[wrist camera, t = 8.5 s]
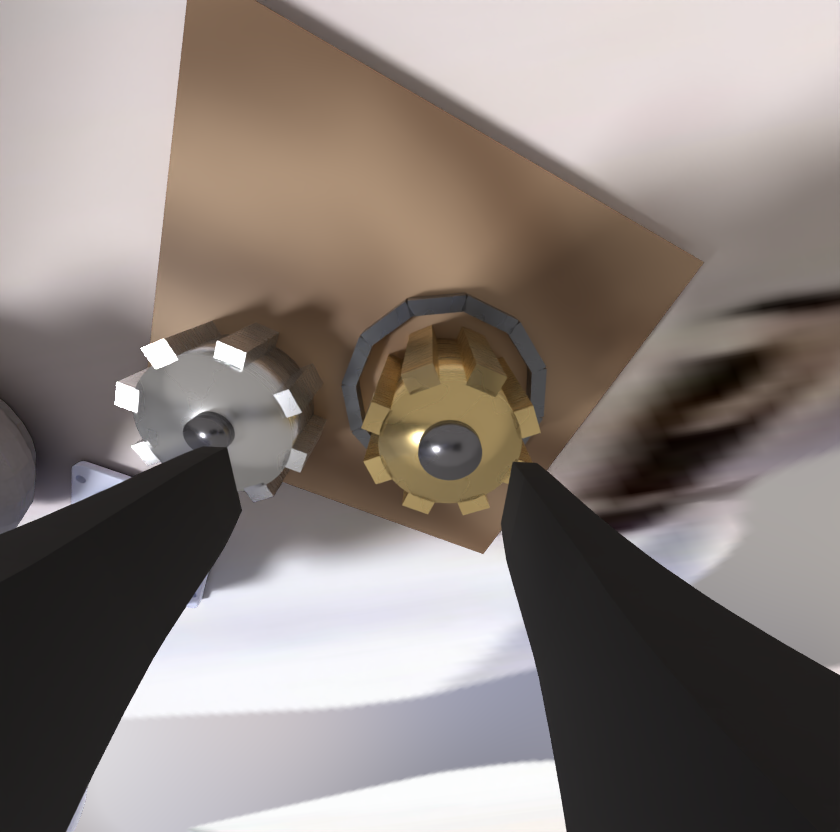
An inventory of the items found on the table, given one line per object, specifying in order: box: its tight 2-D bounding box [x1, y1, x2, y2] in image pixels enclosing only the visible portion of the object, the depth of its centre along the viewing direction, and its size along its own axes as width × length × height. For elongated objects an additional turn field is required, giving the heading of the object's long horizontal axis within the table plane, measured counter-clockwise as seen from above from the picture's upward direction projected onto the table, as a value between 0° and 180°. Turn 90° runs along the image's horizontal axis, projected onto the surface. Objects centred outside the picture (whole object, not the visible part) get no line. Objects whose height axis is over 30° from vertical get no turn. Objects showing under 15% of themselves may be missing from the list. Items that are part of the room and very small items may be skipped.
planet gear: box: [361, 325, 541, 515], centre depth 13 cm, size 6×6×5 cm
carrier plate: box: [147, 0, 704, 554], centre depth 16 cm, size 17×19×1 cm
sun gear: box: [115, 321, 327, 502], centre depth 15 cm, size 7×7×4 cm
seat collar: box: [341, 292, 547, 449], centre depth 16 cm, size 9×9×1 cm
